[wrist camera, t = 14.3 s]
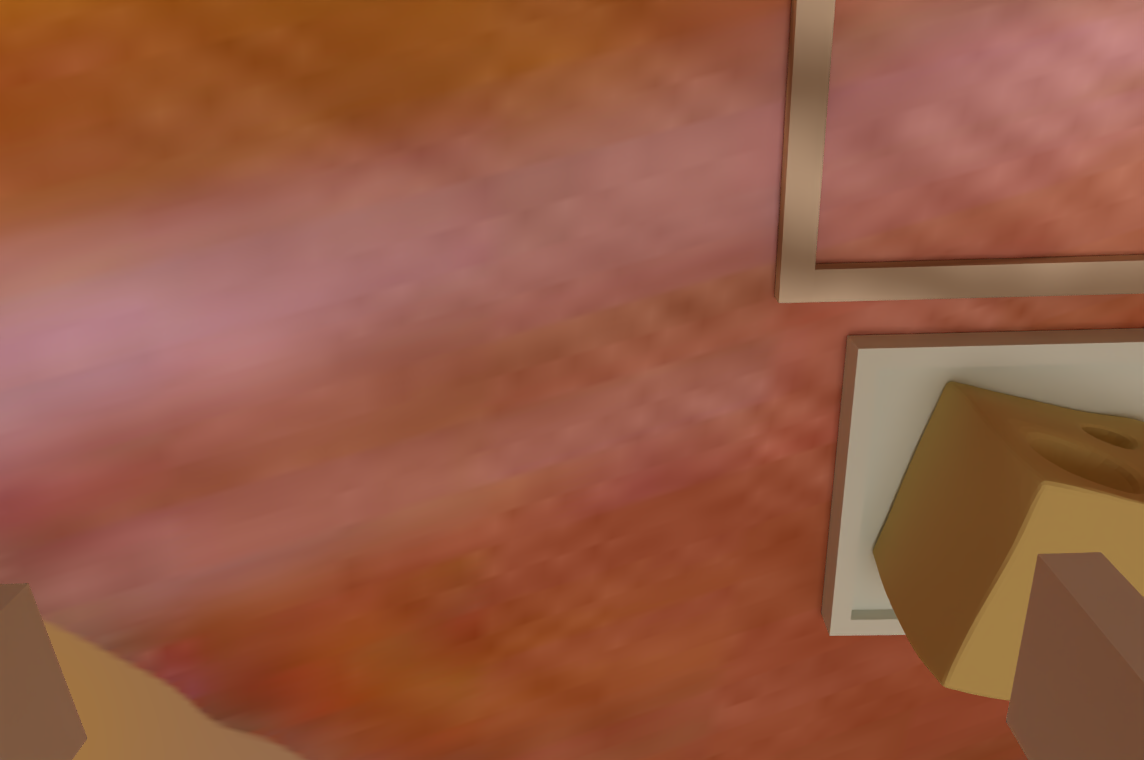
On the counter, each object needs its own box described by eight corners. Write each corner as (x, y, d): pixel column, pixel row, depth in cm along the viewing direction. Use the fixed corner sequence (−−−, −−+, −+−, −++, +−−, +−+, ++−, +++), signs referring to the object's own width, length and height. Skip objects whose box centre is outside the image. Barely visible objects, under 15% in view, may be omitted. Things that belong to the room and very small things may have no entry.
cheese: (1148, 415, 39) (1317, 533, 30) (1047, 598, 43) (1169, 752, 34) (938, 367, 39) (1044, 473, 29) (856, 557, 43) (926, 702, 33)
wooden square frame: (804, -223, 31) (810, -231, 30) (1336, -251, 30) (1360, -260, 29) (774, 296, 39) (778, 303, 38) (1198, 285, 38) (1213, 291, 37)
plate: (847, 335, 39) (858, 348, 38) (1198, 326, 39) (1225, 339, 37) (821, 613, 45) (829, 635, 44) (1123, 610, 45) (1143, 632, 43)
